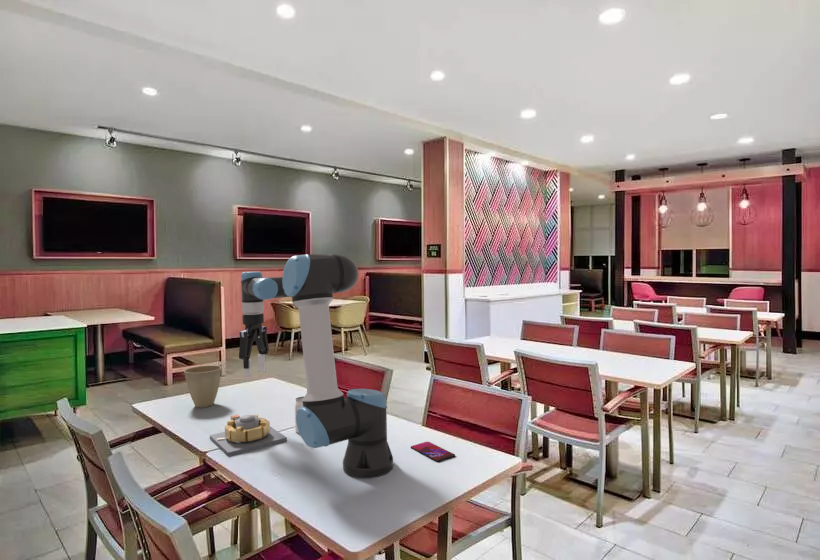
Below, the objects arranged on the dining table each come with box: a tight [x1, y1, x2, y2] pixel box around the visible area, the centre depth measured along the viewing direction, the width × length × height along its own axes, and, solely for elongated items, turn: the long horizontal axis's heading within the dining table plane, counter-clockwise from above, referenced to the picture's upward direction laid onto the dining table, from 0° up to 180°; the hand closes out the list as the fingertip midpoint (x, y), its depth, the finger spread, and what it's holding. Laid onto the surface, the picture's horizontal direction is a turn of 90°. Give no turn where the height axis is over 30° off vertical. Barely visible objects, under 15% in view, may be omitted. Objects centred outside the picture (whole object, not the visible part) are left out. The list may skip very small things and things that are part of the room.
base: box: [209, 414, 288, 457], centre depth 171 cm, size 20×20×8 cm
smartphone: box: [410, 441, 456, 463], centre depth 158 cm, size 8×1×15 cm
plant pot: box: [183, 364, 222, 408], centre depth 213 cm, size 15×15×16 cm
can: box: [294, 395, 305, 435], centre depth 179 cm, size 6×6×12 cm
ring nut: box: [224, 414, 271, 442], centre depth 174 cm, size 21×14×4 cm, turn 38°
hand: (255, 374), depth 183 cm, fingers open, 8 cm apart
